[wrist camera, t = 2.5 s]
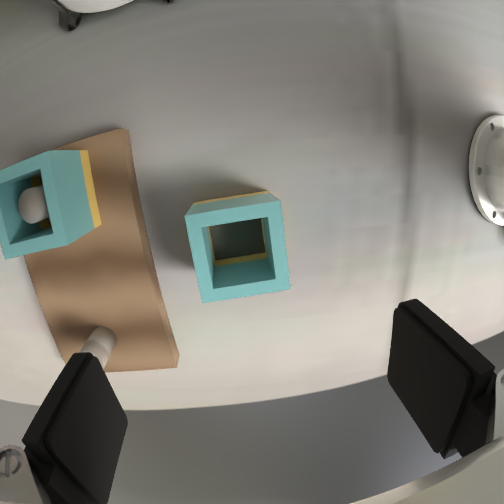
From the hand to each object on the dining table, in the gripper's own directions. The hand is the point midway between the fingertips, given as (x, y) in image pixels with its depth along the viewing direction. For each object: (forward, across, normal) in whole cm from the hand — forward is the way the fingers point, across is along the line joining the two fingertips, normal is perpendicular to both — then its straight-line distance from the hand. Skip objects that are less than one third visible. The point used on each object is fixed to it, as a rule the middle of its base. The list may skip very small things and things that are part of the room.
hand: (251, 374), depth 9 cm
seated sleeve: (+16, +13, -6) cm, 22 cm away
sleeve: (+18, 0, 0) cm, 18 cm away
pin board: (+18, +13, +1) cm, 22 cm away
